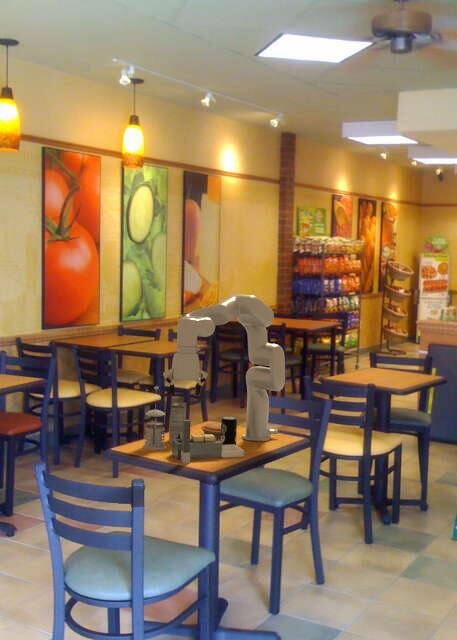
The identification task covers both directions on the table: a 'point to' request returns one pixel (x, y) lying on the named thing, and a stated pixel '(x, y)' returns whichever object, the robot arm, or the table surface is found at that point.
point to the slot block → (198, 449)
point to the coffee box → (176, 420)
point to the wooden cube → (209, 438)
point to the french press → (154, 431)
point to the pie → (213, 429)
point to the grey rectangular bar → (186, 442)
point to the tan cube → (197, 439)
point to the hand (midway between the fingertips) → (184, 395)
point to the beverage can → (228, 430)
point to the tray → (232, 451)
